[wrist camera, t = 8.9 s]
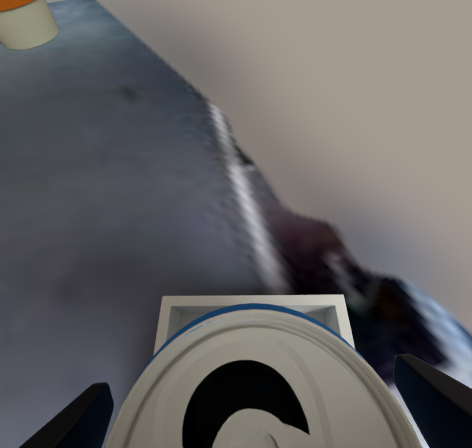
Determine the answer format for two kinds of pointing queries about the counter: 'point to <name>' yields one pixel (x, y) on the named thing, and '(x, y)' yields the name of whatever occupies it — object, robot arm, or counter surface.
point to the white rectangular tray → (192, 307)
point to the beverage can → (259, 388)
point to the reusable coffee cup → (26, 23)
